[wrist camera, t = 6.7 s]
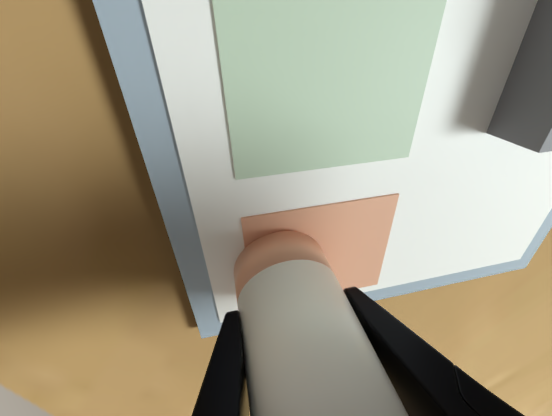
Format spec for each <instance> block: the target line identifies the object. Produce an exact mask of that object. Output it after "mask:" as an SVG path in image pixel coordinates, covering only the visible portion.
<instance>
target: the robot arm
mask: <svg viewBox="0 0 552 416" xmlns="http://www.w3.org/2000/svg"><path fill="white" fill-rule="evenodd" d="M343 291H344V293H345V295H346V297H347V299H348V301H349V302H350V304H351V306H352V308H353V310H354V312H355V314H356V316H357V318H358V320H359V322H360V323H361V325H362V327H363V329H364V331H365V333H366V335H367V337H368V339H369V341H370V343H371V344H372V346H373V348H374V350H375V352H376V354H377V356H378V358H379V360H380V362H381V364H382V366H383V367H384V369H385V371H386V373H387V375H388V377H389V379H390V381H391V383H392V385H393V387H394V388H395V390H396V392H397V394H398V396H399V398H400V400H401V402H402V404H403V406H404V408H405V409H406V411H407V413H408V415H409V416H524V415H523V414H522V413H520V412H519V411H517V410H516V409H514V408H513V407H511V406H510V405H508V404H507V403H506V402H504V401H503V400H501V399H500V398H498V397H497V396H496V395H494V394H493V393H491V392H490V391H489V390H487V389H486V388H485V387H483V386H482V385H481V384H479V383H478V382H477V381H475V380H474V379H473V378H471V377H470V376H469V375H467V374H466V373H465V372H464V371H462V370H461V369H460V368H459V367H457V366H456V365H453V363H452V362H451V361H450V360H448V359H447V358H446V357H444V356H443V355H442V354H441V353H439V352H438V351H437V350H436V349H434V348H433V347H432V346H431V345H429V344H428V343H427V342H425V341H424V340H423V339H422V338H420V337H419V336H418V335H417V334H415V333H414V332H413V331H412V330H410V329H409V328H408V327H406V326H405V325H404V324H403V323H401V322H400V321H399V320H398V319H396V318H395V317H394V316H393V315H391V314H390V313H389V312H387V311H386V310H385V309H384V308H382V307H381V306H380V305H379V304H377V303H376V302H375V301H374V300H372V299H371V298H370V297H368V296H367V295H366V294H365V293H363V292H362V291H361V290H360V289H358V288H357V287H348V288H345V289H344V290H343ZM192 416H249V400H248V392H247V383H246V375H245V362H244V349H243V341H242V333H241V324H240V316H239V311H238V310H235V311H230V312H227V313H226V314H225V316H224V319H223V322H222V325H221V328H220V331H219V335H218V338H217V341H216V344H215V347H214V350H213V353H212V356H211V359H210V362H209V365H208V368H207V371H206V374H205V377H204V380H203V383H202V386H201V389H200V392H199V395H198V398H197V401H196V404H195V407H194V410H193V413H192Z"/></svg>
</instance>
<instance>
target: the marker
mask: <svg viewBox="0 0 552 416" xmlns="http://www.w3.org/2000/svg"><path fill="white" fill-rule="evenodd" d="M234 281H235V289H236V298H237V306H238V311H239V316H240V324H241V333H242V341H243V349H244V362H245V375H246V383H247V392H248V400H249V409H250V416H409V415H408V413H407V411H406V409H405V408H404V406H403V404H402V402H401V400H400V398H399V396H398V394H397V392H396V390H395V388H394V387H393V385H392V383H391V381H390V379H389V377H388V375H387V373H386V371H385V369H384V367H383V366H382V364H381V362H380V360H379V358H378V356H377V354H376V352H375V350H374V348H373V346H372V344H371V343H370V341H369V339H368V337H367V335H366V333H365V331H364V329H363V327H362V325H361V323H360V322H359V320H358V318H357V316H356V314H355V312H354V310H353V308H352V306H351V304H350V302H349V301H348V299H347V297H346V295H345V293H344V291H343V289H342V287H341V285H340V283H339V281H338V280H337V278H336V276H335V274H334V272H333V270H332V268H331V266H330V264H329V262H328V260H327V258H326V257H325V255H324V253H323V251H322V249H321V247H320V245H319V244H318V243H317V242H316V240H314V239H313V238H312V237H310V236H308V235H306V234H304V233H300V232H295V231H280V232H274V233H270V234H267V235H265V236H262V237H260V238H258V239H256V240H255V241H253V242H252V243H250V244H249V245H248V246H247V247H246V248H245V249H244V250H243V251H242V252H241V253H240V255H239V256H238V258H237V260H236V262H235V265H234Z"/></svg>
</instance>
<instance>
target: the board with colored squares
mask: <svg viewBox="0 0 552 416" xmlns="http://www.w3.org/2000/svg"><path fill="white" fill-rule="evenodd" d="M92 1H93V4H94V7H95V10H96V13H97V16H98V19H99V22H100V25H101V29H102V32H103V35H104V38H105V41H106V44H107V47H108V50H109V53H110V56H111V59H112V63H113V66H114V69H115V72H116V75H117V78H118V81H119V84H120V87H121V90H122V93H123V97H124V100H125V103H126V106H127V109H128V112H129V115H130V118H131V121H132V124H133V128H134V131H135V134H136V137H137V140H138V143H139V146H140V149H141V152H142V155H143V158H144V162H145V165H146V168H147V171H148V174H149V177H150V180H151V183H152V186H153V189H154V193H155V196H156V199H157V202H158V205H159V208H160V211H161V214H162V217H163V220H164V223H165V227H166V230H167V233H168V236H169V239H170V242H171V245H172V248H173V251H174V254H175V258H176V261H177V264H178V267H179V270H180V273H181V276H182V279H183V282H184V285H185V288H186V292H187V295H188V298H189V301H190V304H191V307H192V310H193V313H194V316H195V319H196V323H197V326H198V329H199V332H200V335H201V338H206V337H211V336H215V335H219V331H220V328H221V325H222V322H223V319H224V316H225V314H226V313H227V312H230V311H235V310H238V306H237V298H236V289H235V281H234V265H235V262H236V260H237V258H238V256H239V255H240V253H241V252H242V251H243V250H244V249H245V248H246V247H247V246H248V245H249V244H250V243H252V242H253V241H255V240H256V239H258V238H260V237H262V236H265V235H267V234H270V233H274V232H280V231H295V232H300V233H304V234H306V235H308V236H310V237H312V238H313V239H314V240H316V242H317V243H318V244H319V245H320V247H321V249H322V251H323V253H324V255H325V257H326V258H327V260H328V262H329V264H330V266H331V268H332V270H333V272H334V274H335V276H336V278H337V280H338V281H339V283H340V285H341V287H342V289H343V290H344V289H345V288H348V287H357V288H358V289H360V290H361V291H362V292H363V293H365V294H366V295H367V296H368V297H370V298H371V299H372V300H374V301H376V300H380V299H385V298H389V297H394V296H398V295H403V294H408V293H412V292H417V291H421V290H426V289H431V288H435V287H440V286H444V285H449V284H453V283H458V282H463V281H467V280H472V279H476V278H481V277H485V276H490V275H495V274H499V273H504V272H508V271H513V270H517V269H522V268H526V266H527V264H528V263H529V261H530V260H531V258H532V257H533V255H534V254H535V252H536V251H537V249H538V247H539V246H540V244H541V243H542V241H543V240H544V238H545V237H546V235H547V234H548V232H549V230H550V229H551V227H552V0H92Z"/></svg>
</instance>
